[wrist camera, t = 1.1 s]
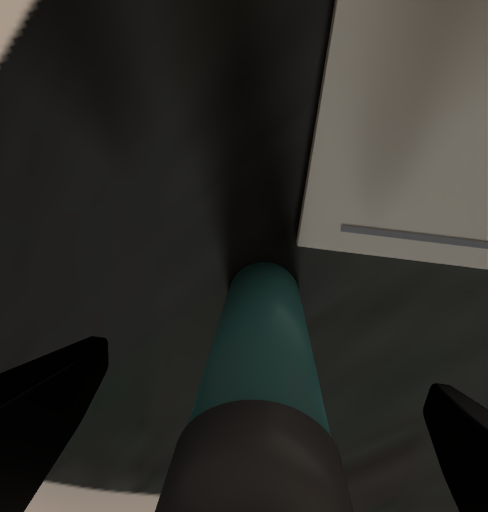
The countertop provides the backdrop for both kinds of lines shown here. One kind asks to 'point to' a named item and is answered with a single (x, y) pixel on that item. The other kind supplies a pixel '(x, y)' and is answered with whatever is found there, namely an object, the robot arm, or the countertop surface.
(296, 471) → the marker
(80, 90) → the countertop surface
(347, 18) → the notepad
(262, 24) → the countertop surface
